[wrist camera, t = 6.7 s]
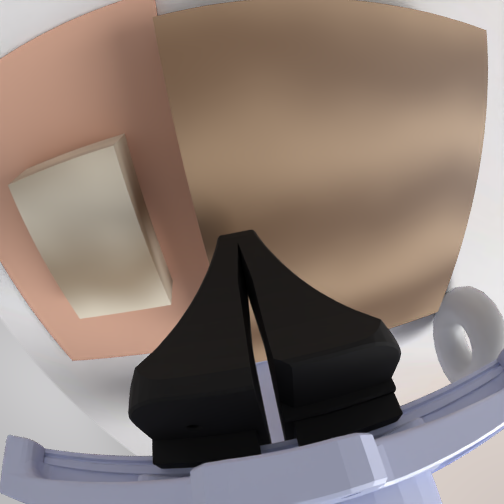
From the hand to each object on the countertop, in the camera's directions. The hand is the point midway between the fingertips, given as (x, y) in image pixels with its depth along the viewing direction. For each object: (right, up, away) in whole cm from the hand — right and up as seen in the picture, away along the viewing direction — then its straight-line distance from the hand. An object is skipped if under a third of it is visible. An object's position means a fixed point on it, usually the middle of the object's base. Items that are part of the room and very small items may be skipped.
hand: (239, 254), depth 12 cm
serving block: (+5, +4, +4) cm, 8 cm away
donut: (+18, -5, +13) cm, 23 cm away
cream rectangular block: (-7, 0, +2) cm, 8 cm away
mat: (-9, +1, +4) cm, 10 cm away
